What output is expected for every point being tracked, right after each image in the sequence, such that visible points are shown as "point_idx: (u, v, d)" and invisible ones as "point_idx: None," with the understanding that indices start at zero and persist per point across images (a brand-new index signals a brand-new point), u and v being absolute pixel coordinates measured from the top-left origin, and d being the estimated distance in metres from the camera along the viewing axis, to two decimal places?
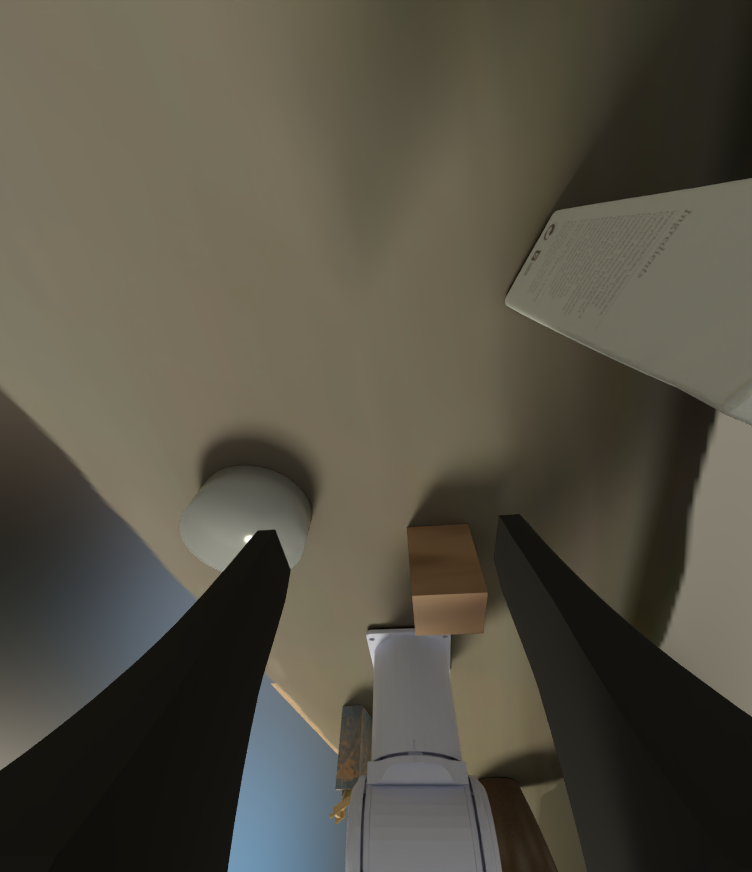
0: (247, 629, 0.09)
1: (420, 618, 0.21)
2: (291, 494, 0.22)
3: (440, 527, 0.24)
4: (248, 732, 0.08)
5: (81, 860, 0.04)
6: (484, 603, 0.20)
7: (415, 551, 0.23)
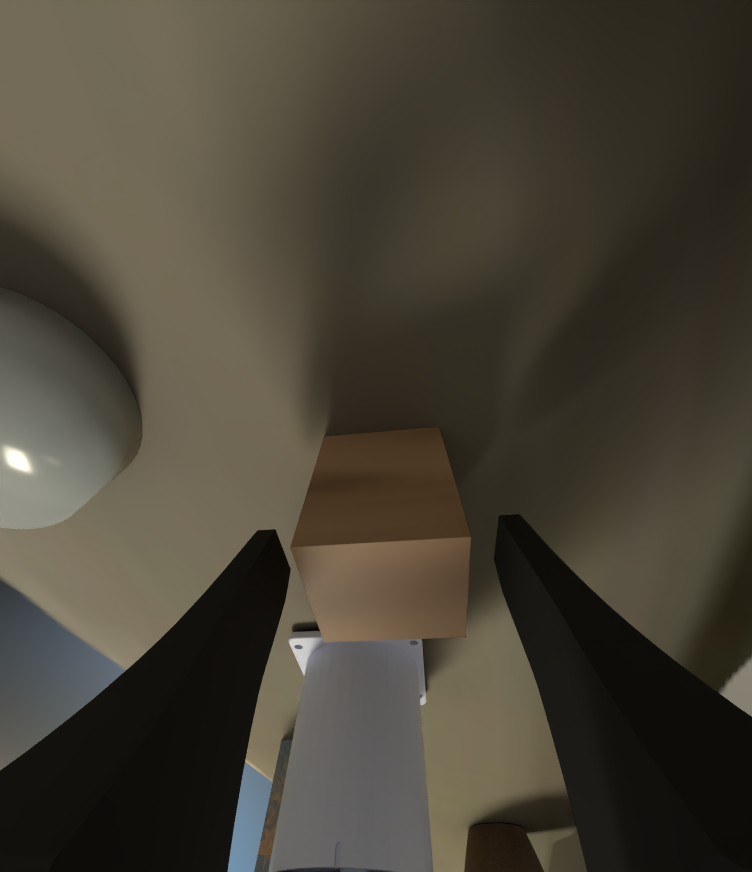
0: (247, 629, 0.09)
1: (324, 603, 0.09)
2: (54, 339, 0.10)
3: (386, 433, 0.13)
4: (248, 732, 0.08)
5: (81, 860, 0.04)
6: (464, 566, 0.09)
7: (327, 469, 0.11)
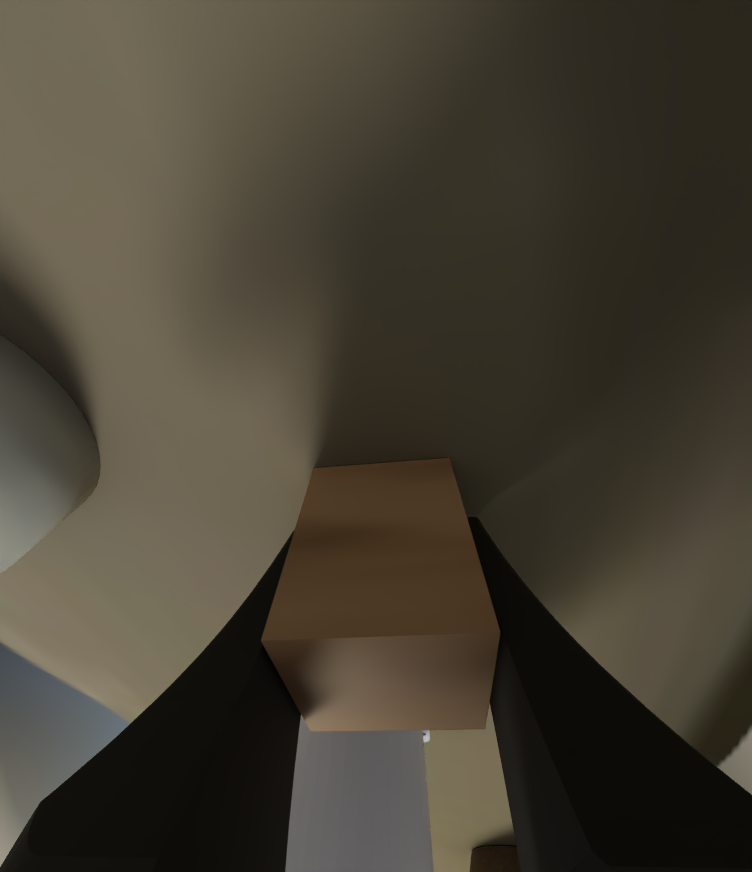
0: None
1: (308, 695, 0.08)
2: None
3: (386, 466, 0.11)
4: (297, 731, 0.08)
5: (177, 862, 0.04)
6: (489, 663, 0.07)
7: (315, 516, 0.09)
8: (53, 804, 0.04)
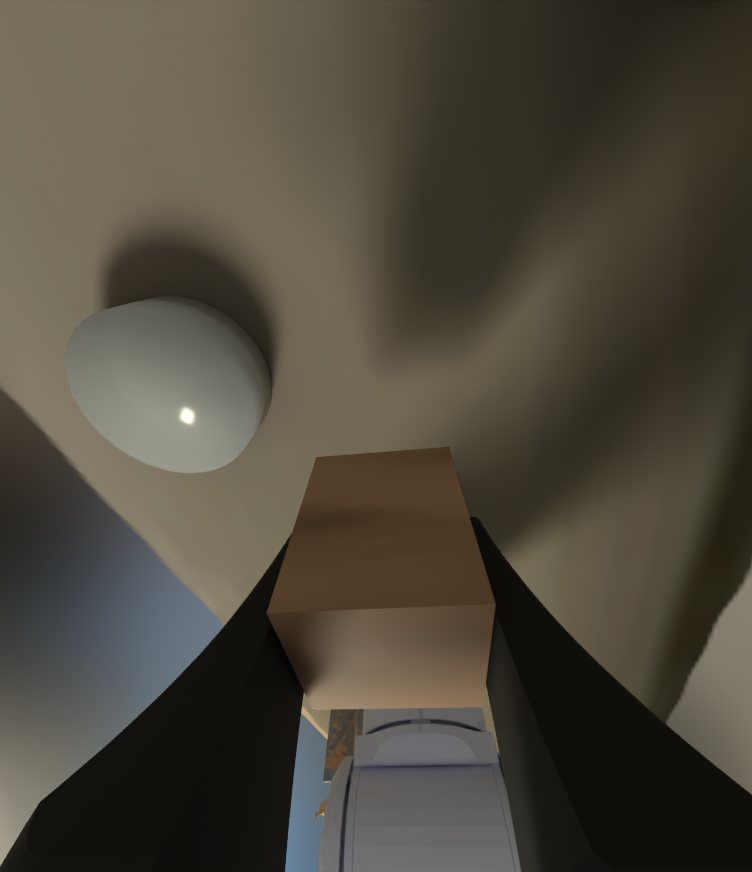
0: None
1: (311, 671, 0.08)
2: (234, 334, 0.15)
3: (387, 455, 0.11)
4: (297, 731, 0.08)
5: (176, 862, 0.04)
6: (485, 636, 0.07)
7: (317, 501, 0.09)
8: (53, 803, 0.04)
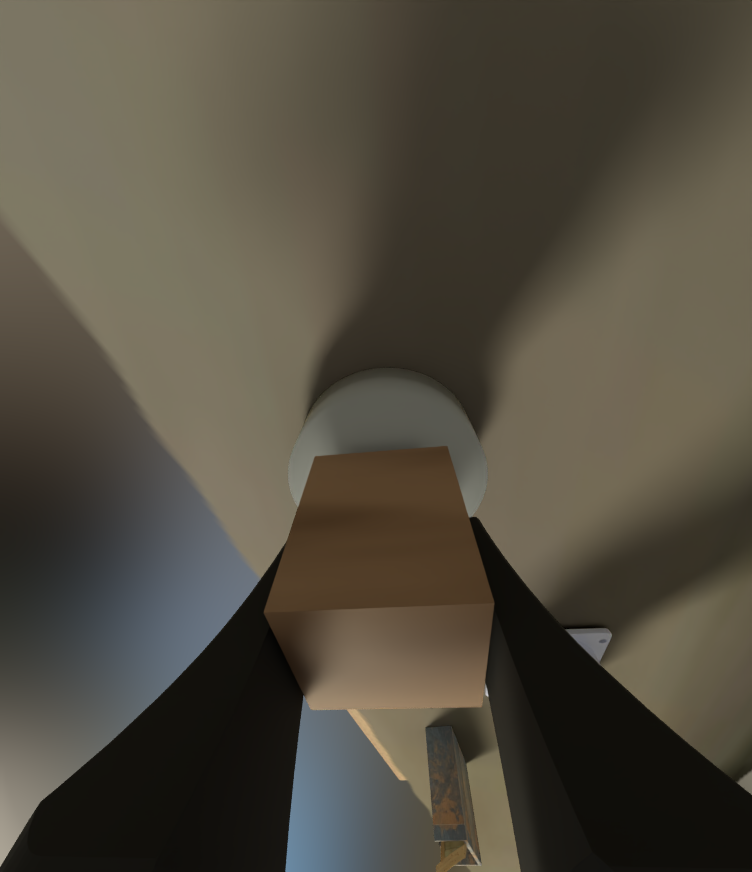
0: None
1: (309, 670, 0.08)
2: (464, 413, 0.13)
3: (386, 454, 0.11)
4: (297, 731, 0.08)
5: (177, 862, 0.04)
6: (484, 635, 0.07)
7: (315, 500, 0.09)
8: (53, 803, 0.04)
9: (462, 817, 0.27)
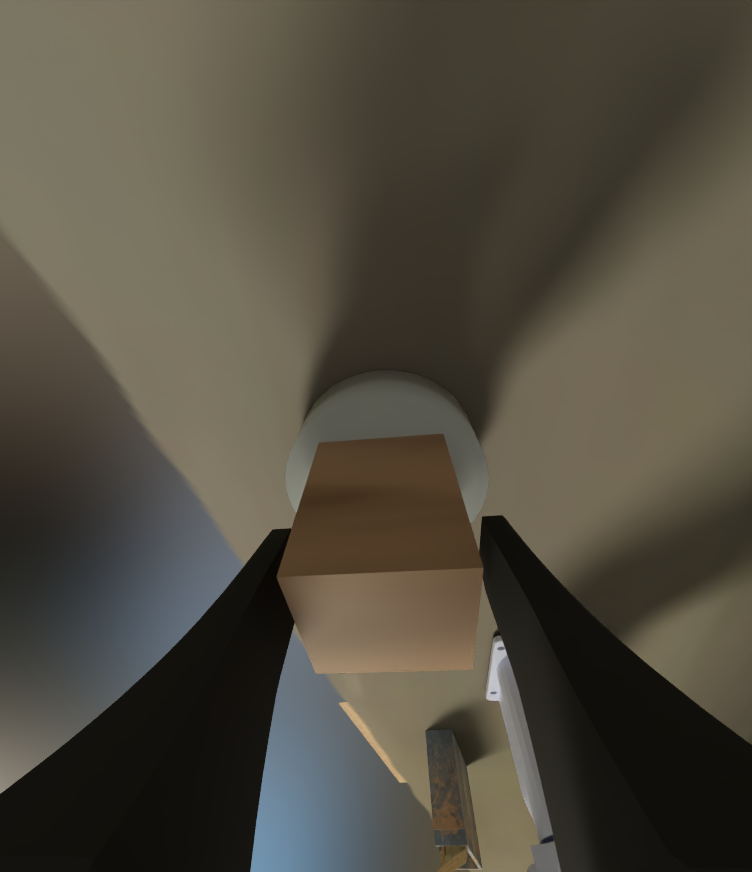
0: (266, 629, 0.09)
1: (316, 634, 0.08)
2: (465, 416, 0.13)
3: (385, 441, 0.12)
4: (267, 731, 0.08)
5: (119, 861, 0.04)
6: (474, 599, 0.08)
7: (321, 481, 0.10)
8: (1, 804, 0.04)
9: (462, 822, 0.27)
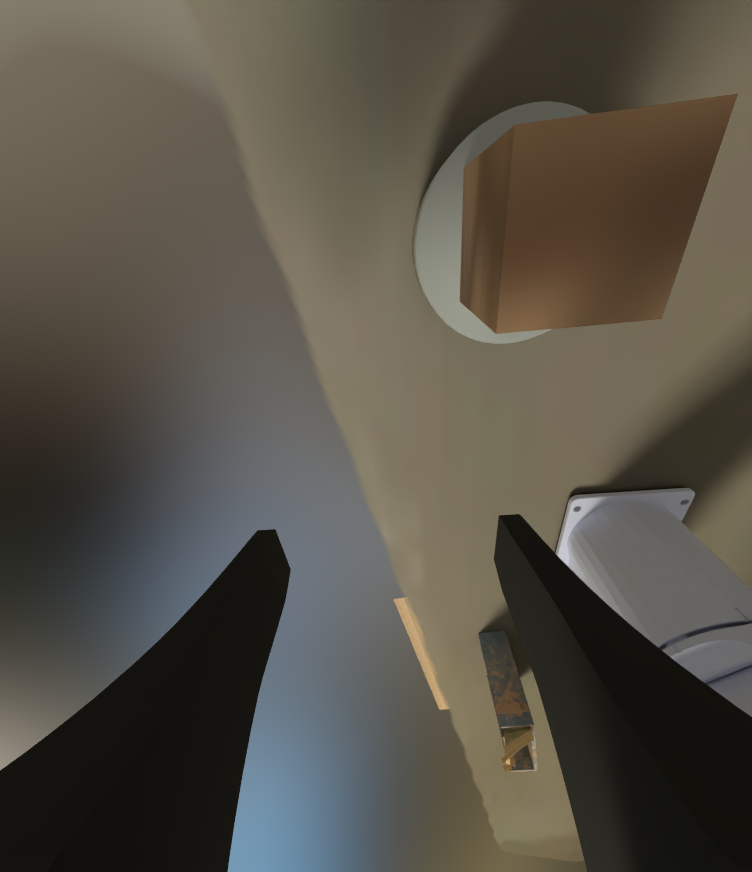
0: (247, 629, 0.09)
1: (520, 248, 0.08)
2: None
3: None
4: (248, 732, 0.08)
5: (81, 861, 0.04)
6: (708, 163, 0.07)
7: None
8: None
9: (527, 705, 0.27)
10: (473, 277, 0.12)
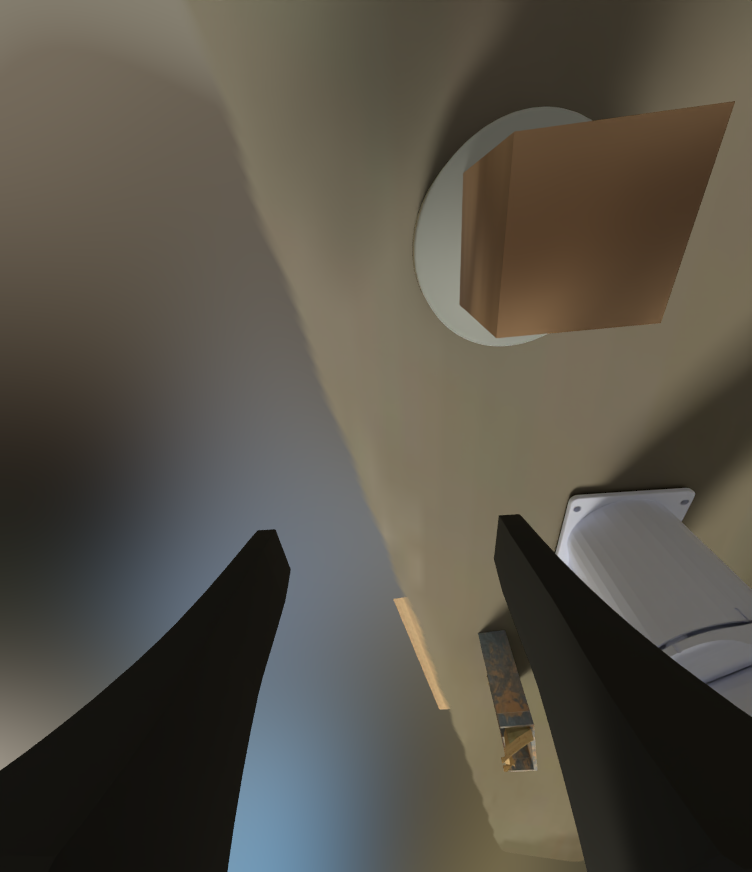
0: (247, 629, 0.09)
1: (520, 254, 0.08)
2: None
3: None
4: (248, 732, 0.08)
5: (81, 861, 0.04)
6: (706, 170, 0.07)
7: None
8: None
9: (526, 705, 0.27)
10: (473, 281, 0.12)
